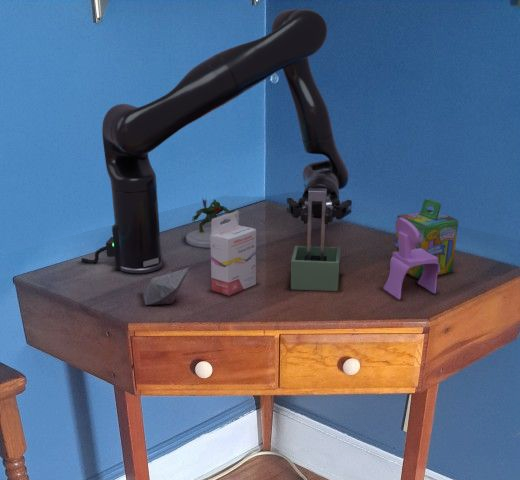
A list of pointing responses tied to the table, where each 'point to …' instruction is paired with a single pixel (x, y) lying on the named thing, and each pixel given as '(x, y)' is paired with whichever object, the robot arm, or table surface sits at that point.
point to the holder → (315, 269)
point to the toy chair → (410, 260)
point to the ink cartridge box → (232, 255)
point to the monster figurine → (203, 234)
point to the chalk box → (433, 236)
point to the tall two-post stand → (313, 195)
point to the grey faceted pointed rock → (164, 288)
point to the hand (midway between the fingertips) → (316, 219)
